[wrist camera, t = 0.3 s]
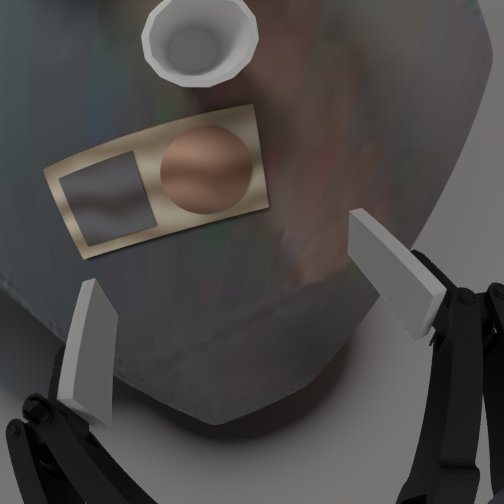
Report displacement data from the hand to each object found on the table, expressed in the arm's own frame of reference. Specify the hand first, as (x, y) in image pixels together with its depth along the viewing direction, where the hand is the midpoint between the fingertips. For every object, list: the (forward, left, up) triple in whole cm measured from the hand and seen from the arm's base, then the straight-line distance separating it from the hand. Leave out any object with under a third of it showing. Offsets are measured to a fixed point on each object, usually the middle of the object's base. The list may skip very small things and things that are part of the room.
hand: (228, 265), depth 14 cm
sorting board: (+4, -6, -26) cm, 27 cm away
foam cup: (-12, +2, -27) cm, 29 cm away
